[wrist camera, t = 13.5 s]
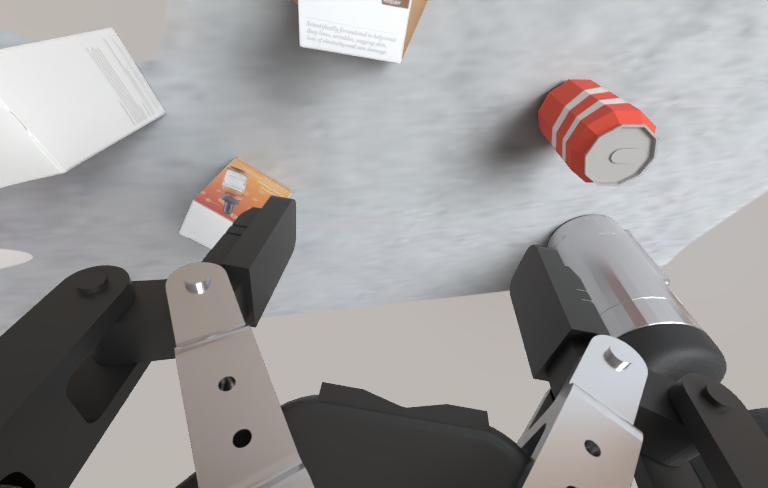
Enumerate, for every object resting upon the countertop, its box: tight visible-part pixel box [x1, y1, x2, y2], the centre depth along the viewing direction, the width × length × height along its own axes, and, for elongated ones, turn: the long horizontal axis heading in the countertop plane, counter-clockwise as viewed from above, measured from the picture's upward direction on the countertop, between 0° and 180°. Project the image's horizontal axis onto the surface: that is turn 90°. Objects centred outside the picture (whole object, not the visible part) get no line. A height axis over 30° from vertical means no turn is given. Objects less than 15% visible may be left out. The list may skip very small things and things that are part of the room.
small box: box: [178, 157, 292, 249], centre depth 41 cm, size 8×6×10 cm
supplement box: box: [0, 28, 165, 188], centre depth 32 cm, size 9×9×15 cm
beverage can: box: [538, 80, 659, 186], centre depth 31 cm, size 6×6×12 cm
